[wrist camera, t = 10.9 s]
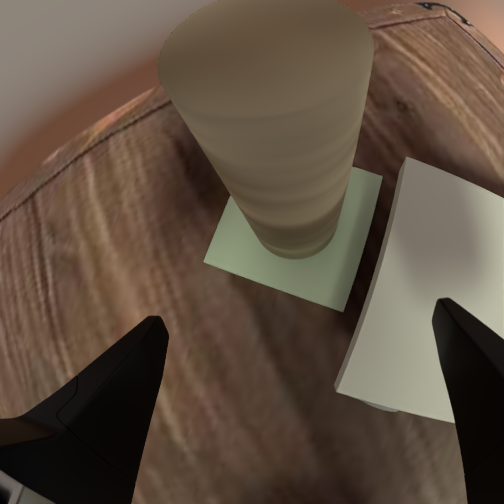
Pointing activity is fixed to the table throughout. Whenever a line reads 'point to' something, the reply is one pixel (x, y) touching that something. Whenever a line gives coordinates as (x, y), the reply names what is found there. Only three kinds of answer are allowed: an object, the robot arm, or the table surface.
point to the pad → (309, 269)
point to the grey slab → (425, 289)
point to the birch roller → (275, 109)
